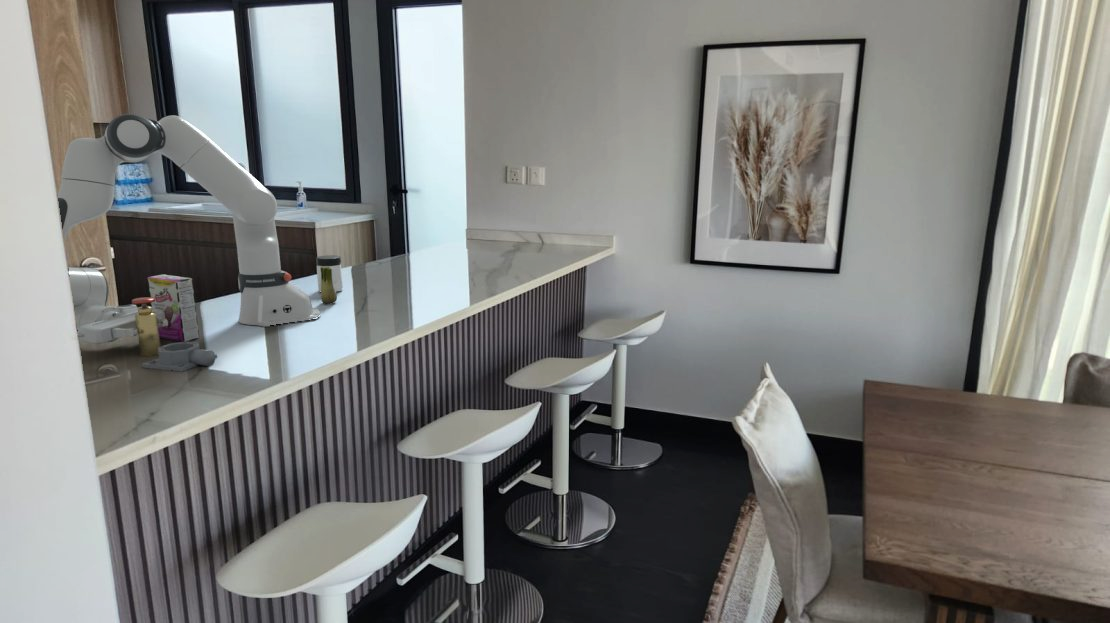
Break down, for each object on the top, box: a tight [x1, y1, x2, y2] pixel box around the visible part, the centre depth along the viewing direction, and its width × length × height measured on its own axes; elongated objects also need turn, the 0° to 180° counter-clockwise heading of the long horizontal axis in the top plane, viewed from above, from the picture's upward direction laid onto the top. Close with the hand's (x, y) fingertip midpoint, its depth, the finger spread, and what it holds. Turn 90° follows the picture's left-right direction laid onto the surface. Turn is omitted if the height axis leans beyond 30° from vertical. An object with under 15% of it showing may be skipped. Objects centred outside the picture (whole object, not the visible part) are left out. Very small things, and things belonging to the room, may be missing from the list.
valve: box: [131, 296, 162, 357], centre depth 166 cm, size 5×5×14 cm
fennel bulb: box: [320, 267, 338, 304], centre depth 221 cm, size 6×5×12 cm
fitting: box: [141, 341, 218, 373], centre depth 160 cm, size 14×11×4 cm
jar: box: [315, 254, 343, 292], centre depth 240 cm, size 9×8×12 cm
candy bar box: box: [147, 274, 200, 342], centre depth 180 cm, size 11×5×16 cm, turn 66°
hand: (150, 327), depth 166 cm, fingers open, 8 cm apart
